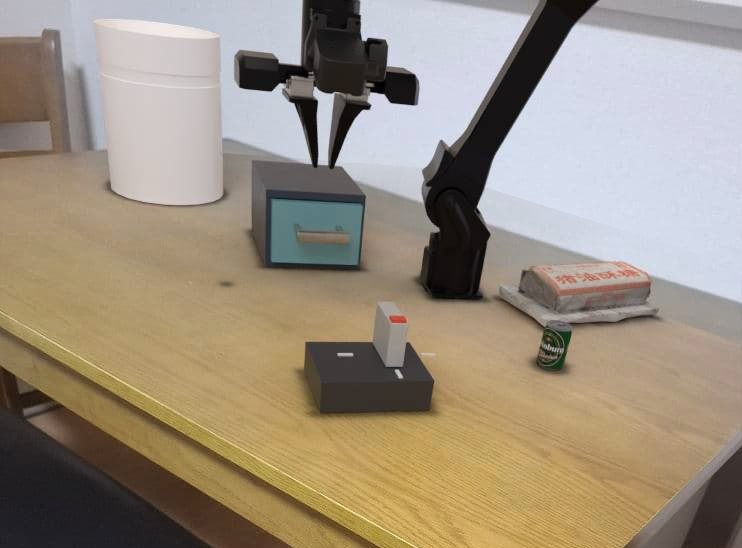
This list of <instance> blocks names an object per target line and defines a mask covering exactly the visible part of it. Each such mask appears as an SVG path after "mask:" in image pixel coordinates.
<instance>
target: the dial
mask: <svg viewBox="0 0 742 548" xmlns="http://www.w3.org/2000/svg"><path fill="white" fill-rule="evenodd" d="M374 315H375V316H374V325H373V326H374V328H373V333H374V334H373V336H372V342H373V345H374V346H375V348H376V350H377V352H378V354H379V355H380V357H381V359H382V361H383V362H384V364H385V366H386V367H403V362H404V355H405V347H406V342H407V341H408V340H407V339H408V331H409V323H408V320H407V318H406V316H405V315H403V314H402V312H401V311H400V309H399V308H398V306H397V304H395V302H394V301H376V305H375V314H374Z"/></svg>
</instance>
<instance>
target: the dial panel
mask: <svg viewBox="0 0 742 548" xmlns="http://www.w3.org/2000/svg"><path fill="white" fill-rule="evenodd" d="M373 334H374V332H373ZM304 345H305V346H304V360H303V361H304V362H303V363H304V365H303V372H304V375H305V377H306V381H307V384H308V385H309V388H310V391H311V393H312V396H313V398H314V401H315V404H316V407H317V409H318V412H319V414H344V413H345V414H346V413H347V414H348V413H382V412H383V413H384V412H385V413H386V412H425V411H430V410H431V405H432V400H433V399H432V398H433V392H434V385H435V379H434V378H433V376H432V374H431V373H430V372H429V370H428V368H427V366H426V365H425V364H424V362H423V360H422V359H421V358H420V357H436V356H437V355H436V353H435V352H420V353H419V354H420V356H419V354H418V353H417V351H416V349H415V348H414V347H413V345H412V344H411V342H410V341H406V347H405V355H404V362H403V367H386V366H385V364H384V362H383V361H382V359H381V357H380V355H379V354H378V352H377V350H376V348H375V346H374V345H373V341H305V342H304Z"/></svg>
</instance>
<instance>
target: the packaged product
mask: <svg viewBox="0 0 742 548" xmlns="http://www.w3.org/2000/svg"><path fill="white" fill-rule="evenodd" d="M652 281H653V280H652V278H651V277H650V275H649V273H648V272H647V271H643V269H640V268H638V267H636V266H634V265H632V264H631V263H628V262H626V261H621V260H620V261H616V260H615V261H606V262H605V261H598V262H596V261H595V262H593V261H592V262H581V263H579V262H578V263H577V262H576V263H560V264H546V265H532V266H527V267H524V268H523V269H522V271H521V273H520V280H519V283H510V284H509V283H508V284H499V288H498V289H499V290H498V297H499V298H501V299H502V300H503V301H505V302H507V303H508V304H510V305H512V306H513V307H515V308H518V309H519V310H520V311H522V312H524V313H525V314H526V315H529V316H530V317H532V318H533V319H535V320H536V322H538V323H539V324H540V325H541V326H542V327H543V328H545V326H546V325H547V324H546V323H547V322H548V321H550V320H559V321H563V322H566V323H568V324H578V323H579V324H580V323H592V322H593V323H594V322H613V323H615V322H619V321H621V320H624V319H629V318H637V317H644V316H655V315H657V314H658V312H659V311H660V307H657V305H654V304H652V303H650V302H649V301H647V299H648V298H650V295H651V294H652V290H651V287H652V283H653V282H652Z"/></svg>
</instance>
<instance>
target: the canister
mask: <svg viewBox="0 0 742 548" xmlns="http://www.w3.org/2000/svg"><path fill="white" fill-rule="evenodd" d="M93 26H94V27H93V28H94V35H95V36H94V37H95V47H96V57H97V61H98V68H99V69H98V75H99V84H100V94H101V104H102V112H103V113H102V114H103V121H104V132H105V140H106V141H105V142H106V150H107V160H108V169H109V181H110V189H111V190H112V191H113V192H114V193H115V194H117V195H119V196H122V197H124V198H126V199H129V200H132V201H133V200H134V201H138V202H143V203H149V204H155V205H164V206H166V205H167V206H170V205H171V206H191V205H192V206H195V205H196V206H197V205H203V204H210V203H213V202H215V201H218V200H221V199H222V197H223V196H224V160H223V158H224V156H223V117H222V116H223V115H222V114H223V112H222V111H223V110H222V109H223V108H222V83H221V72H222V66H221V63H222V61H221V36H220V35H219V34H218V33H216V32H213V31H210V30H206V29H202V28H198V27H192V26H187V25H183V24H182V25H181V24H175V23H166V22H161V21H151V20H142V19H130V18H129V19H128V18H97V19H93Z"/></svg>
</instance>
